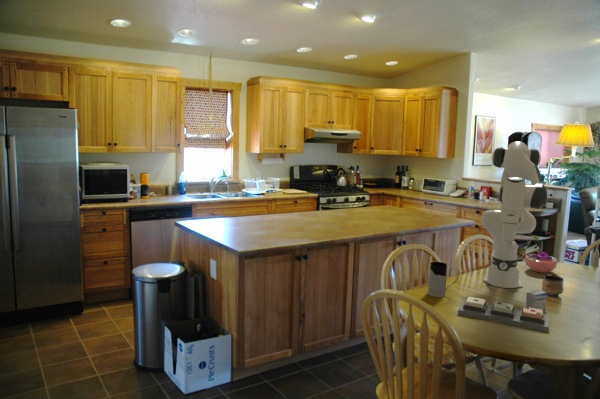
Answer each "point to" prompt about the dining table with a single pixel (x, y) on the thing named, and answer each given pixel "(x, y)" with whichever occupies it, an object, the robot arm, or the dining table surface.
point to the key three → (532, 312)
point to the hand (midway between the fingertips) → (509, 248)
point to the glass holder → (438, 279)
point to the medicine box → (536, 300)
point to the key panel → (505, 316)
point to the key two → (503, 307)
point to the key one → (475, 302)
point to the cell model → (541, 262)
